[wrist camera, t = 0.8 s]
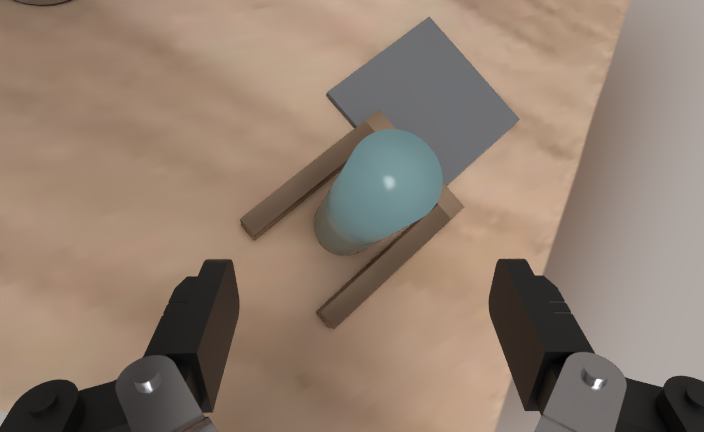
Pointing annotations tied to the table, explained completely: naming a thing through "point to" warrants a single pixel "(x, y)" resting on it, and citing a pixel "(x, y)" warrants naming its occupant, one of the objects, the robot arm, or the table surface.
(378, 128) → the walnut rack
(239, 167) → the table surface
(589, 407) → the robot arm
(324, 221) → the canister
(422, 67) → the felt pad
